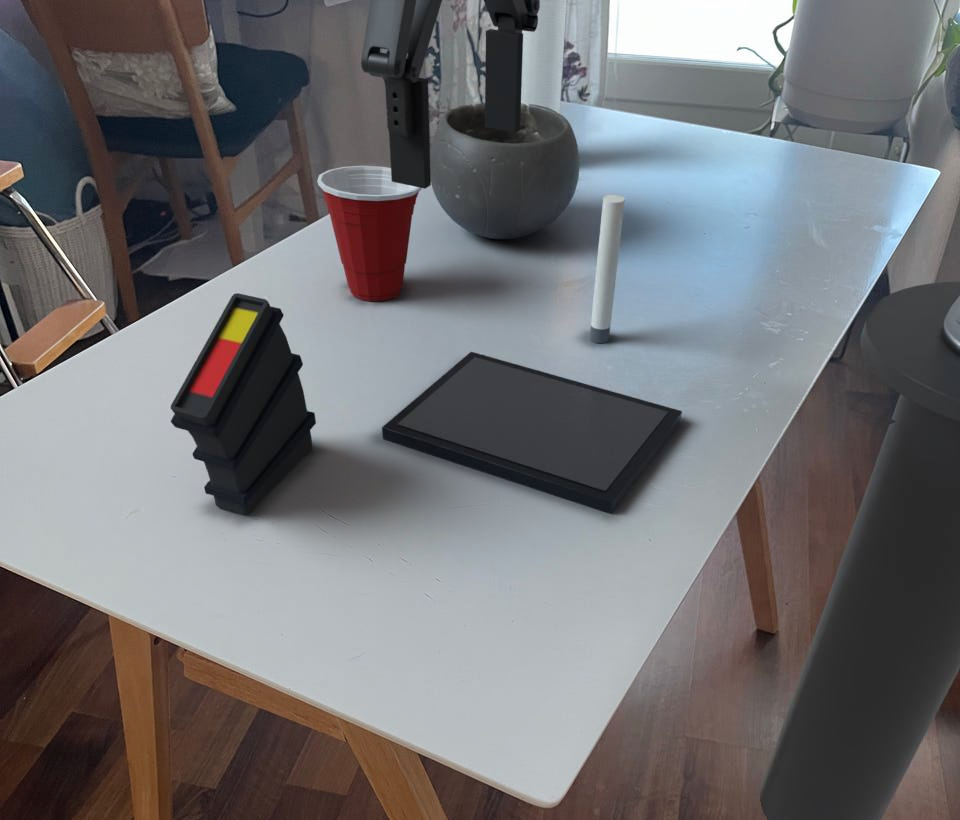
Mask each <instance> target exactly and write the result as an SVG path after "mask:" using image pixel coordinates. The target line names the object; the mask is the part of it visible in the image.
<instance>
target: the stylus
mask: <svg viewBox="0 0 960 820" xmlns="http://www.w3.org/2000/svg"><path fill="white" fill-rule="evenodd" d="M625 202H626V199H625V197H624V196H622V195H619V194H607V195H605V196H603V198H602V207H601V217H600V228H599V238H598V247H597V259H596V269H595V279H594V289H593V299H592V308H591V318H590V330H589V340H590V341H591V342H593V343H595V344H604V343H607V342H608V341H609V339H610V333H611V324H612V318H613V317H612V315H613V307H614V298H615V290H616V281H617V272H618V263H619V254H620V245H621V235H622V228H623V219H624V211H625Z"/></svg>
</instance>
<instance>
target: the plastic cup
mask: <svg viewBox="0 0 960 820" xmlns="http://www.w3.org/2000/svg"><path fill="white" fill-rule="evenodd" d="M317 185H318V187H320V189H321V192H322V194H323V197H324V201H325V203H326V207H327V211H328V213H329V217H330V221H331V224H332V229H333V233H334V237H335V242H336V245H337V250H338V254H339V257H340V258H339V259H340V263H341V264H342V266H343V270H344V275H345V279H346V283H347V286H348V287H347V288H349V291H350V293H351V295H352V296H353V297H354V298H356V299H359V300H362V301H366V302H383V301H389V300H391V299H394V298H396V297H398V296H399V295H400V294H401V293H402V288H403V287H404V279H405V278H404V277H405V269H406V264H407V259H408V251H409V242H410V234H411V227H412V218H413V215H414V211H415V205H416V202H417V198H418V195H419V194H420V192H421V191H422V189H423V188H420V187H415V186H410V185H405V184H401V183H396V182H392V179H391V167H387V166H376V165H352V166H341V167H337V168H332V169H328V170H325V171H323V172H322V173H320V174H319V175H318V178H317Z"/></svg>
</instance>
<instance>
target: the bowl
mask: <svg viewBox="0 0 960 820" xmlns="http://www.w3.org/2000/svg"><path fill="white" fill-rule="evenodd" d="M430 174H431V188H432V190H433V193H434V196H435V199H436V200H437V202H438V204H439V206H440V207H441V208H442V210H443V211H444V212H445V213H446V215H447V216H448V217H449V218H450V219H451V220H452V221H453V222H454V223H456V224H457V225H458V226H459V227H461V228H463V230H466V231H468V232H470V233H472V234H474V235H476V236H480V237H483V238H487V239H491V240H492V239H493V240H513V239H518V238H522V237H526V236H529V235H532V234H534V233H536V232H538V231H540V230H542V229H544V228H546V227H547V226H548V225H550V224H551V223H553V222H554V221H555V220H556V219H558V218H559V217H560V216H561V215H562V213H564V211H565V210H566V209H567V207H568V206H569V205H570V203H571V201H572V199H573V197H574V195H575V193H576V189H577V186H578V181H579V177H580V155H579V146H578V141H577V138H576V135H575V132H574V130H573V127H572V125H571V123H570V122H569V120H568V119H567V118H566V117H565V116H564V115H562V114H561V113H560V114H559V113H557V112H556V111H554V110H552V109H550V108H547V107H543V106H539V105H534V104H529V107H528V106H527V105H526V104H523V103H521V117H520V131H518V132H516V133H513V132H507V131H502V130H496V129H491V128H485V102H482V103H477V104H474V105H473V104H463V105H460V106H457V107H453V108H451V109H449V110H448V111H446V112H445V113H443V115H442V116H441V118H440V120H439V122H438V123H437V126H436V128H435V131H434V133H433V137H432V140H431V143H430Z"/></svg>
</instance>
